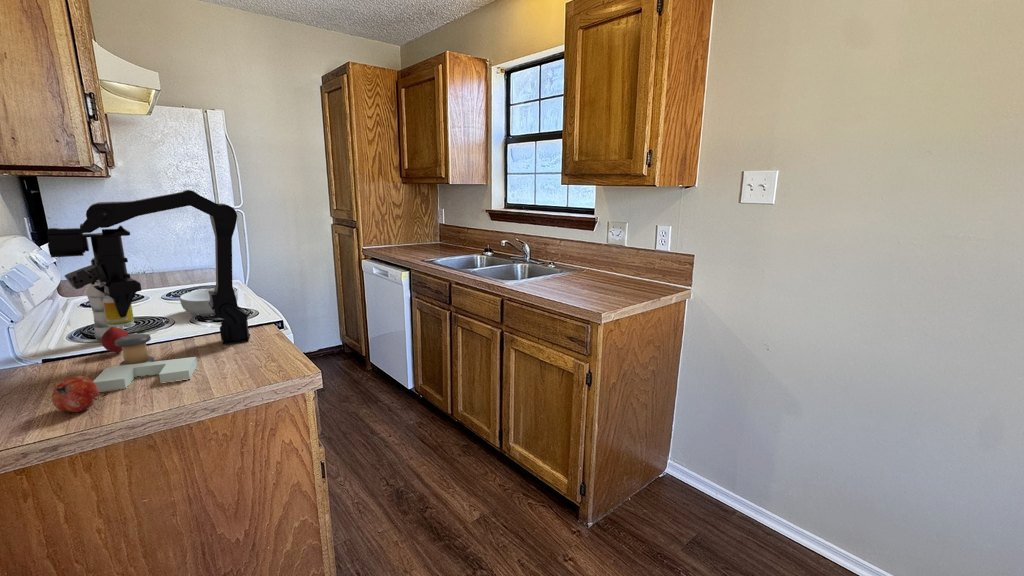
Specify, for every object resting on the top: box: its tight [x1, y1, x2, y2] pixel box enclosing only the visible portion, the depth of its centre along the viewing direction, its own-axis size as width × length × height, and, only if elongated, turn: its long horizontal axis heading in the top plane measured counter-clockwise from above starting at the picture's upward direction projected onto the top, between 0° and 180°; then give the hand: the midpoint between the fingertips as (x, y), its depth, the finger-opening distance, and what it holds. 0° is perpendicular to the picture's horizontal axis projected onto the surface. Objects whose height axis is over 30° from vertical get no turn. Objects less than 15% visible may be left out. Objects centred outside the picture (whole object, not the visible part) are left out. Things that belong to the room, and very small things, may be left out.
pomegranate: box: [51, 375, 100, 413], centre depth 96 cm, size 7×7×10 cm
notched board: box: [92, 356, 198, 393], centre depth 111 cm, size 18×9×2 cm, turn 114°
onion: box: [100, 327, 130, 354], centre depth 125 cm, size 6×6×8 cm
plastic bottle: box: [85, 282, 125, 343], centre depth 132 cm, size 6×7×20 cm
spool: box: [115, 333, 156, 366], centre depth 118 cm, size 7×7×7 cm
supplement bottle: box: [103, 288, 135, 327], centre depth 118 cm, size 5×5×10 cm
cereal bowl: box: [179, 287, 239, 317], centre depth 161 cm, size 17×17×7 cm
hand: (119, 314), depth 118 cm, fingers closed on supplement bottle, 5 cm apart
